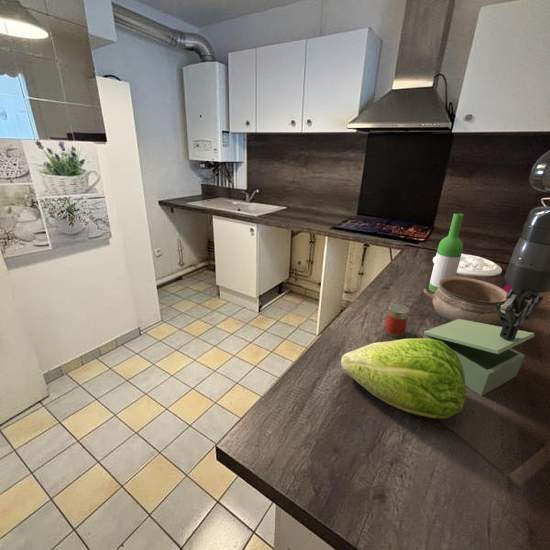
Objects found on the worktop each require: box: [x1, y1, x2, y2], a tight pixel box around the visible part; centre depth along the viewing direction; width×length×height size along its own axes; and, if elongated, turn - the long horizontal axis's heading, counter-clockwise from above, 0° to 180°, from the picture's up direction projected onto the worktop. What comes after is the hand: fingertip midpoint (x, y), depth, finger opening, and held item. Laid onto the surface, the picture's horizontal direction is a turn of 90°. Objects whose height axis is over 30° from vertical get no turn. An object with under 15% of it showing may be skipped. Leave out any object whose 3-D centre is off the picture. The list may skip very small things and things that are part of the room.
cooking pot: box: [423, 276, 507, 326], centre depth 89 cm, size 25×19×12 cm
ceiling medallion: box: [432, 253, 503, 278], centre depth 138 cm, size 28×28×3 cm
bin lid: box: [423, 319, 535, 354], centre depth 69 cm, size 17×14×1 cm
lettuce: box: [340, 337, 467, 420], centre depth 63 cm, size 15×24×16 cm
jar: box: [384, 303, 410, 339], centre depth 84 cm, size 6×6×9 cm
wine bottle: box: [428, 212, 464, 291], centre depth 106 cm, size 8×8×30 cm
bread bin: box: [422, 334, 526, 396], centre depth 71 cm, size 16×14×7 cm
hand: (506, 338), depth 63 cm, fingers closed
